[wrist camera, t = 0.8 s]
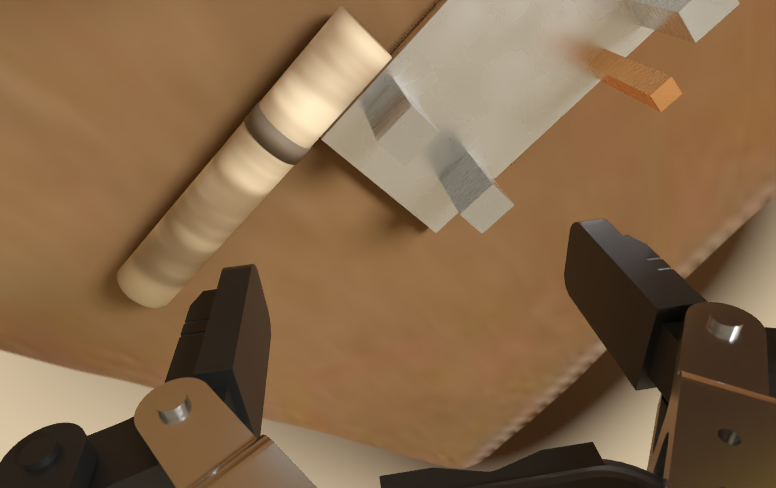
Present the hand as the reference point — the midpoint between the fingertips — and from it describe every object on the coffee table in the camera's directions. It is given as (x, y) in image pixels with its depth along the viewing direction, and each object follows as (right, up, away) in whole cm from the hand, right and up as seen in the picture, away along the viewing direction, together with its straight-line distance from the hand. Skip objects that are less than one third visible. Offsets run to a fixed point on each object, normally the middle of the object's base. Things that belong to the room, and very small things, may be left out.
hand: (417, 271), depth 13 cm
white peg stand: (+6, +12, +16) cm, 21 cm away
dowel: (-9, +5, +15) cm, 18 cm away
